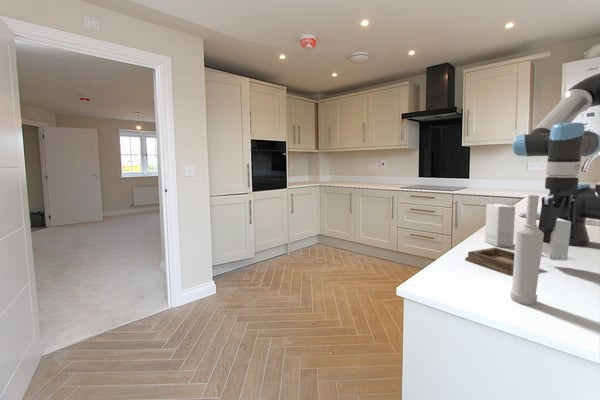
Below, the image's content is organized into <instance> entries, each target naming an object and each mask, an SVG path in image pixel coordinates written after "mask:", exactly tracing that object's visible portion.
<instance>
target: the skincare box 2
mask: <svg viewBox="0 0 600 400" xmlns="http://www.w3.org/2000/svg"><path fill="white" fill-rule="evenodd" d="M570 229H571V222H570V221H566V220H563V219H560V218H557V220H556V223H555V227H554V230H553V233H555V236H554V246H553V254H548V253H544V252H541V256H543V257H545V258H547V259H549V260H551V261H563V262H564V261H565V262H567V261H568V254H569V246H570V245H569V238H570Z"/></svg>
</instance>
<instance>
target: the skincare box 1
mask: <svg viewBox="0 0 600 400" xmlns="http://www.w3.org/2000/svg"><path fill="white" fill-rule="evenodd" d="M515 216H516V206H514V205H508V204H504V203H494V204H492V203H489V204H486V211H485V230H484V231H485V233H484V235H485V236H484V243H487V244H490V245H492V246H494V247H496V248H510V247H511V248H512V247H514V237H515V218H516V217H515Z"/></svg>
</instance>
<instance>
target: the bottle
mask: <svg viewBox="0 0 600 400" xmlns="http://www.w3.org/2000/svg"><path fill="white" fill-rule="evenodd" d="M539 199H540V195H537V194H527V200H526V201H527V202H526V203H527V205H526V212H525V213H526V214H525V222H524V223H523V224H522V226H521V227H518V229H515V243H514V253H515V255H514V269H513V274H512V283H511V284H512V285H511V289H510V296H509V297H510V299H511V300H512V301H513V302H515V303H518V304H522V305H527V306H533V305H535V304H536V303H537V300H538V295H537V288H538V280H539V273H540V266H541V260H542V259H541V258H542V255H541V252H542V245H543V237H544V233H543V232H542V231H541V230H540V229H539V228H538V226H539V224H538V225H537V217H538V209H539V208H538V206H539V201H540V200H539Z"/></svg>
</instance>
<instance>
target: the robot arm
mask: <svg viewBox="0 0 600 400" xmlns="http://www.w3.org/2000/svg"><path fill="white" fill-rule="evenodd" d="M597 106H600V72H599V73H596V74H593V75H591V76H589V77H586V78H584V79H583V80H581V81H579V82H577V83H576V84H574V85H572V86H571V87H570V88H569V89H567V91H566V92H565V93H564V94H562V96H561V97H560V101H559V102H558V104H557V105H556V106H555V107H554V108H553V109H552V110H551V111H549V113H548V114H547V115H546V116H545V117H543V119H542V120H541V121H540V122H539V123H538V124H537V126H535V127H534V128H533V129H532V130H531V131H530V132H529V133H528V134H526V133H523V134H519V135H517V136H516V137H514V139H513V142H512V150H513V153H514V154H515V155H516V156H519V157H547V164H546V173H545V175H547V176H546V177H545V183H544V188H545V190H549V192H548V195H547V197H546V196H544V197H543V196H542V197H541V206H540V207H541V208H540V215H539V221H538V228H539V229H540V230H541V231H542V232H543V233H544V237H543V245H542V252H544V253H548V254H553V246H554V236H555V233H553V230H554V227H555V223H556V220H557V218H560V219H563V220H566V221H570V222H571V229H570V238H569V246H588V245H589V243H590V235H589V233H588V230H587V227H586V220H587V219H591V220H592V219H593V220H599V221H600V180H599V181H597V182H596V183H595V187H594V188H593V187H591V186H590V183H581V184H580V183H579V177H578V176H579V175H580V169H582V165H581V159H582V157H588V156H592V155H594V154H596V153H598V151H599V150H600V134H599V133H597V132H594V131H591V130H585V123H583V122H574V120H575V119H576V118H577V117H578V116H579V115H580V114H581V113H583V112H585V111H587V110H588V109H590V108H592V107H597Z"/></svg>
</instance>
